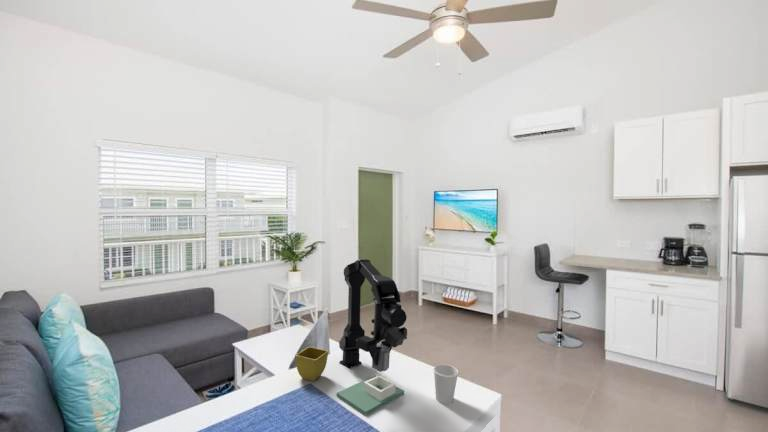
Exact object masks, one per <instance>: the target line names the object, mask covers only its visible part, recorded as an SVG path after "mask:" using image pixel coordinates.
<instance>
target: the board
mask: <svg viewBox="0 0 768 432" xmlns="http://www.w3.org/2000/svg"><path fill="white" fill-rule="evenodd" d="M403 395H405V390H403V389H402V388H400V387H398V386H397V385H396V383H394V382H392V381H390V380H388V379H387V378H384V377H383V376H381V375H372V376H370V377H368V378H366V379H363V380H361V381H359V382H358V383H355V384H353V385H351V386H349V387H346V388H344V389H342V390H339V391H338V392H336V397H337V398H338V399H340V400H341V401H342V402H344V403H346V404H347V405H349V406H350V407H352V408H353V409H354V410H356V411H357V412H359V413H361V414H362V415H364V416H367V415H369V414H371V413H373V412H375V411H376V410H378V409H380V408H382V407H383V406H385V405H387V404H389V403H391V402H393V401H394V400H396V399H398V398H400V397H401V396H403Z"/></svg>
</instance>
